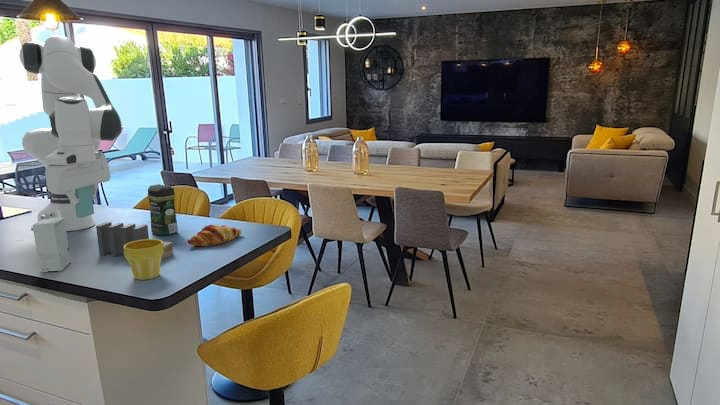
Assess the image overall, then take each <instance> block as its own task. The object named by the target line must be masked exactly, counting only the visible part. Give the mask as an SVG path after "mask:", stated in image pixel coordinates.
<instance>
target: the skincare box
mask: <svg viewBox="0 0 720 405" xmlns="http://www.w3.org/2000/svg"><path fill="white" fill-rule="evenodd" d="M32 226H33V229H32V230H33V237H34V241H35V243H34V244H35V247H36V248H35V249H36V254H37V261H38V266H39V272H40V273H49V272H48V271H58V272H62V271H63V270H64V269H65V268H66V267H67V266H69V265H70V264H72V259H71V252H70V247H69V246H70V245H69V239H68V235H67V231H66V227H65V220H64V217H62V218H48V219H43V220H41V221H38V220H37V222H36V223H34V224H32ZM69 263H70V264H69ZM61 270H62V271H61Z"/></svg>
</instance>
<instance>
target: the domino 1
mask: <svg viewBox="0 0 720 405" xmlns="http://www.w3.org/2000/svg"><path fill="white" fill-rule="evenodd" d="M74 195H75V196H76V198H79V202H80V203H79V204H77V205H75V209H76V216H77V218H83V217H86V216H89V215H92V216H93V215H94V214H95V209H94V208H95V207H94V202H93V201H94V200H93V199H92V191H91V185H90V186H86V187H82V188H78V189H75V193H74Z"/></svg>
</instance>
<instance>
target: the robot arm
mask: <svg viewBox="0 0 720 405" xmlns="http://www.w3.org/2000/svg"><path fill="white" fill-rule="evenodd" d="M19 60H20V63H21V65H22V67H24V70H26V71H27V72H28V73H31V74H35V75H39V74H41V78H40V82H41V85H40V86H41V88H40V89H41V99H42V110H43V111H44V113H45V114H46V115H47V116H48V120H49V122H50V123H49V124H50V127H48V128H47V127H43V128H36V129H32V130H28V131H26V132H25V133H24V135H23V136H22V140H21V142H22V143H21V144H22V148H23V150H24V152H25V153H26V154H27V155H28V156H30V157H31V158H34V159H36V160H37V161H38V162H40V163H41V164H42V165H43V167H44V168H45V170H44V171H45V172H44V173H45V182H46V183H45V184H46V188H47V190H48V191H49V192H50V194H47V196H48V197H47V198H48V199H49V198H50V201H49V202H48V204H47V205H46V206H44V207H43V208H42V209H41V210H40V211H39V212H38V214H37V222H38V221H41V220H43V219H48V218H62V217H64V220H65V227H66V232H72V231H74V232H75V231H81V230H84V229H88V228H91V227H94V226H95V225H96V224H95V223H96V222H95V221H94V218H93V214H92V215H89V216H86V217H83V218H77V216H76V209H75V205H77V204H79V203H80V202H79V198H76V196H75V195H74V193H75V189H78V188H82V187H86V186H90V185H91V191H92V199H93V201H94V200H96V199H97V192H98V188H99V185H98V184H102V183H106V182H109V181H110V180H111V177H112V176H111V170H110V166H109V163H108V162H109V161H107V157H106V155H105V154H104V153H103V152H102V151H98V150H99V148H100V147H101V141H108V142H109V141H110V142H111V141H112V142H113V141H114V140H115V139H116V138H118V137H119V136H120V135H121V134H122V131H123V130H122V129H123V126H122V125H123V124H122V120H121V118H120V115H119V113H118V112H117V110H116V108H115V107H114V106H113V104H112V102H111V100H110V98H109V96H108V94H107V92H106V90H105V88H104V86H103V83H102V82H101V80H100V78H98V76H97V75H96V74H95V73H94V72H95V68H96V67H97V66H96V64H97V61H96V60H97V59H96V57H95V55H94V52H93V50H92V49H91V48H89V46H88V47H87V46H85V45H80V44H79V45H76V44H75V42H73V40H71V39H70V38H68V37H67V36H63V35H51V36H50V37H48V38H46V40H45V41H44V42H43V41H40V42H37V41H33V40H32V41H26V42H24V43H23V44H22V45H21V48H20V51H19ZM78 95H82V96H85V97H86V98H90V99H91V100H92V103H93V104H94V106H95V107H89V104H88V102H87V99H85V98H83V97H81V96H78ZM30 228H31V230H33V225H31V226H30Z"/></svg>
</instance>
